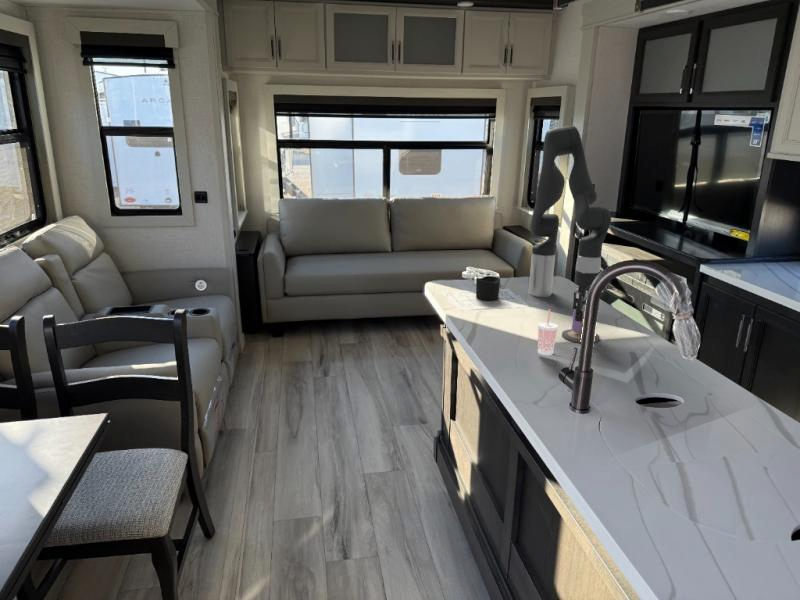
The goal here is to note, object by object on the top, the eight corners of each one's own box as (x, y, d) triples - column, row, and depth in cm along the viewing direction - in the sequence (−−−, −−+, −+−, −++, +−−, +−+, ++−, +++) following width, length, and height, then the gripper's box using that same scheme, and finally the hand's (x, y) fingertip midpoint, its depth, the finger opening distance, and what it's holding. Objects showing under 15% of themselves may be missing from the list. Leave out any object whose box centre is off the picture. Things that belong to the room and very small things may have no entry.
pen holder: (475, 298, 231) (476, 275, 228) (498, 300, 229) (499, 276, 227) (475, 305, 222) (476, 280, 219) (498, 306, 220) (500, 281, 218)
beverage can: (570, 333, 185) (575, 289, 181) (572, 328, 190) (577, 285, 186) (589, 335, 183) (594, 291, 178) (590, 330, 188) (595, 287, 184)
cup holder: (457, 283, 256) (458, 267, 254) (478, 281, 260) (479, 265, 258) (480, 294, 239) (481, 277, 237) (502, 291, 243) (503, 275, 241)
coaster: (570, 329, 195) (570, 326, 195) (604, 336, 188) (604, 334, 187) (556, 337, 186) (556, 335, 185) (591, 346, 179) (592, 343, 178)
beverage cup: (559, 352, 173) (563, 309, 169) (549, 357, 168) (553, 313, 165) (541, 347, 177) (545, 305, 173) (531, 352, 172) (535, 309, 169)
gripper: (584, 264, 188) (579, 311, 193) (567, 271, 177) (562, 321, 182) (607, 267, 184) (601, 316, 188) (591, 275, 173) (585, 326, 177)
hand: (582, 318), depth 185 cm, fingers closed on beverage can, 6 cm apart
